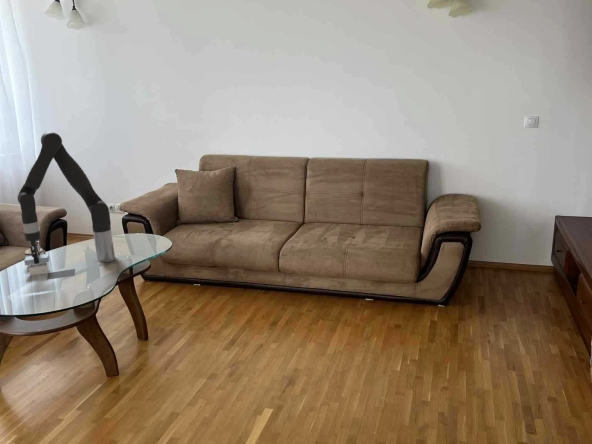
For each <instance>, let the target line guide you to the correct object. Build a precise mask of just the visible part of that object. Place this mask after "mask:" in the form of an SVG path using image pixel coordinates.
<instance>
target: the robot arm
mask: <svg viewBox="0 0 592 444" xmlns="http://www.w3.org/2000/svg"><path fill="white" fill-rule="evenodd" d="M40 143H41V149H40V151H39V155H38V157H37V158H36V160H35V162H34V164H33V165H32V166H31V168H30V171H29V172H28V175H27V176H26V180H25V181H24V184H23V185H22V187H21V188H20V191H19V192H18V195H17V202H18V203H19V205H20V209H21V214H20V216H21V221H22V230H23V236H24V239H25V240H24V241H26V242H30V244H29V249H31V254H32V257H33V258H34V264H39V258H38V255H40V248H41V246H40V241H39V240H41V239H42V234H41V233H42V232H41V229H40V223H39V221H38V220H39V219H38V214H37V211H36V209H37V206H36V205H37V204H36V200H35V197H34V196H35V194H36V192H37V191H38V190H39V189H40V187H41V185H42V184H43V183H42V182H43V181H44V178H45V176H46V174H47V172H48V169H49V167H50V164H51V163H52V160H53V159H54V161H55V162H56V164H57V166H58V167H59V170H60V171H61V173H62V175H63V176H64V178H65V179H66V181H67V182H68V184H69V185H70V186H71V187H72V189H73V190H74V191H75V192H76V193H77V194H78V195H79V196H80V197H81V198H82V200H83V201H84V203H85V205H86V207H87V209H88V211H89V213H90V217H91V223H92V231H93V232H92V233H93V239H94V246H95V252H96V259H97V261H98V262H103V263H110V262H113V260H114V261H116V255H115V254H116V253H115V248H114V247H115V246H114V241H113V235H112V234H113V233H112V227H111V223H112V221H111V215H110V214H111V213H110V209H109V206H108V205H107V203H105V201H103V199H102V198H101V197H100V196H99V194H98V193H96V191H95V190H94V188H93V185H92V184H91V181H90V180H89V178H88V176H87V175H86V173H85V171H84V170H83V168H82V167H81V166H80V165H79V163H78V162H77V161H76V160H75V159H74V158H73V157H72V156H71V155H70V153H69V152H68V151H67V150H66V148H65V146H64V144H63V139H62V137H61V136H60V134H58V133H57V132H53V131H45V132H44V133H43V134H42V135H41V137H40ZM34 253H35V255H34Z"/></svg>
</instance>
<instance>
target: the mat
mask: <svg viewBox="0 0 592 444" xmlns="http://www.w3.org/2000/svg"><path fill="white" fill-rule="evenodd" d="M75 274H76V268H71V269H65V270H58V271H52V272H49V273H47V278H46V280H54V279H61V278H68V277H74V276H75Z"/></svg>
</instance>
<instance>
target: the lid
mask: <svg viewBox="0 0 592 444" xmlns="http://www.w3.org/2000/svg"><path fill="white" fill-rule="evenodd" d="M38 258H39V263H47V262H48V263H49V261H50V253H46V254H44V253H43V255H38ZM23 261H24V265H25V266H27V265H32V264H34V258H33V257H32V256H28V257H26V256H25V258H24V260H23Z"/></svg>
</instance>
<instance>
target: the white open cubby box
mask: <svg viewBox="0 0 592 444" xmlns="http://www.w3.org/2000/svg"><path fill="white" fill-rule="evenodd" d="M27 269H28V273H29V276H36V275H41V274H48V273H50V270H51V269H50V264H49V262H47V263H39V264H32V265H29V267H27Z"/></svg>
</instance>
